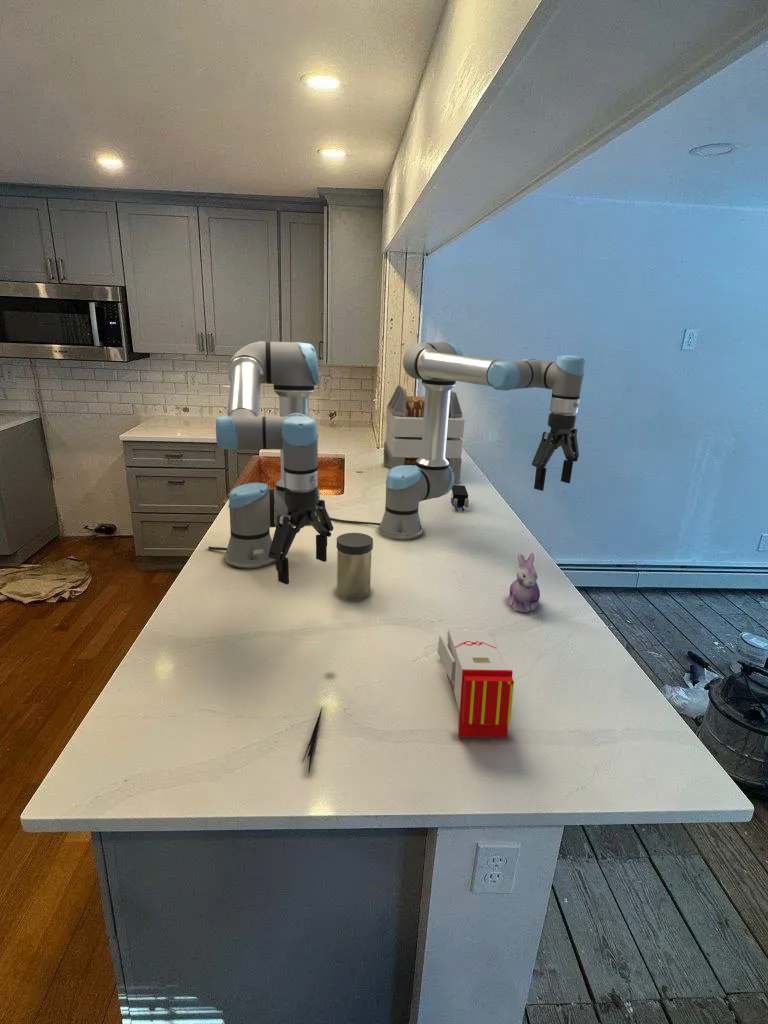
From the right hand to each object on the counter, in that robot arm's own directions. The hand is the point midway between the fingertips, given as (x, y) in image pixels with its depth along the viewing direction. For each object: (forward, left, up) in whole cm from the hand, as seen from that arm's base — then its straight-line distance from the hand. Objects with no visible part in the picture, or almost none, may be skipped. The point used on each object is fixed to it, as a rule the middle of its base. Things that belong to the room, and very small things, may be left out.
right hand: (552, 485), depth 166 cm
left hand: (-17, -75, -13) cm, 78 cm away
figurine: (+10, -21, -28) cm, 37 cm away
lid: (-24, -54, -12) cm, 60 cm away
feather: (+14, -91, -28) cm, 96 cm away
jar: (-24, -54, -28) cm, 65 cm away
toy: (+26, -62, -28) cm, 72 cm away
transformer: (-101, +46, -28) cm, 115 cm away
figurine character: (-56, +25, -28) cm, 67 cm away
